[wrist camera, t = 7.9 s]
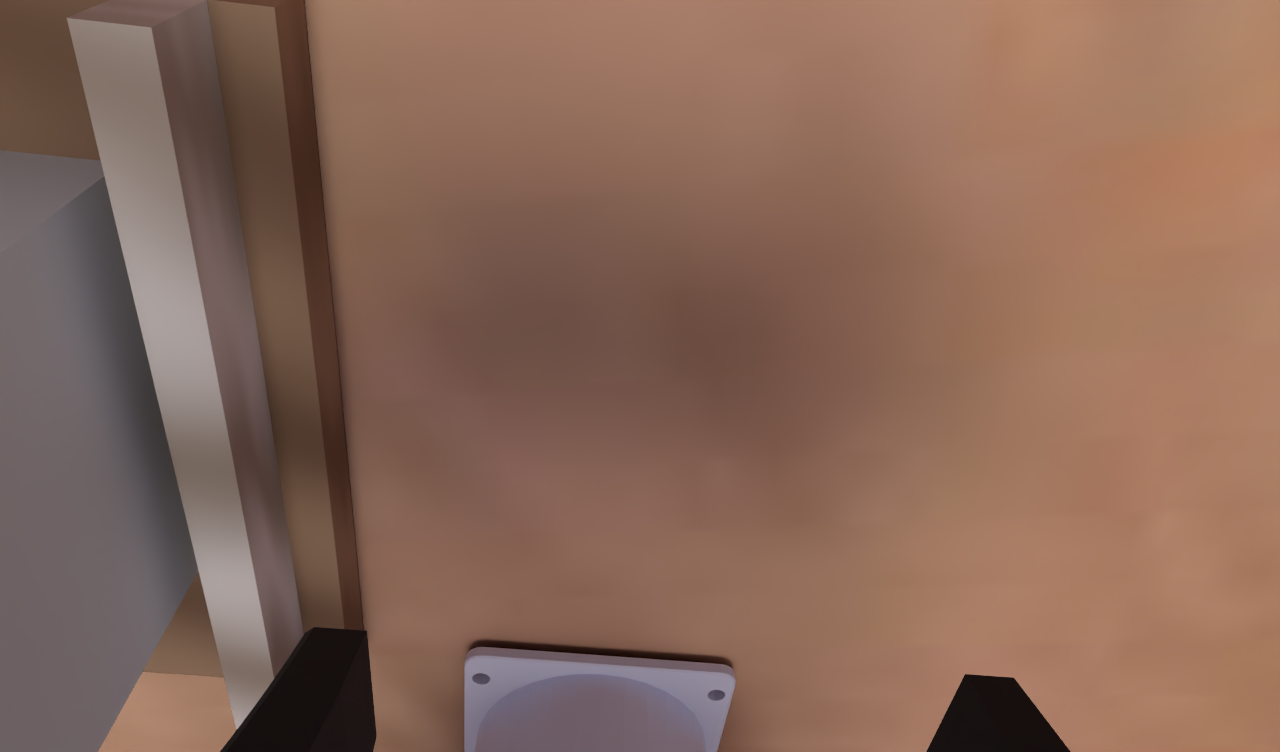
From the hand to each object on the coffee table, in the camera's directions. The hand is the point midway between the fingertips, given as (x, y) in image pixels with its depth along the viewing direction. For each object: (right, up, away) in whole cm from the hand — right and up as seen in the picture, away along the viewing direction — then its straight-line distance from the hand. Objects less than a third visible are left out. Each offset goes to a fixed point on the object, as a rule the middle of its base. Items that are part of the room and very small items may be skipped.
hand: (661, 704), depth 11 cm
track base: (-12, +4, +10) cm, 16 cm away
